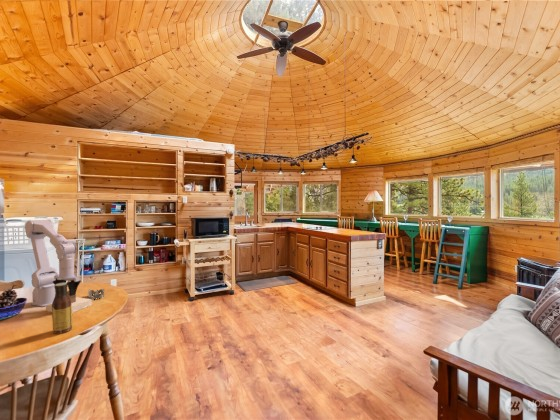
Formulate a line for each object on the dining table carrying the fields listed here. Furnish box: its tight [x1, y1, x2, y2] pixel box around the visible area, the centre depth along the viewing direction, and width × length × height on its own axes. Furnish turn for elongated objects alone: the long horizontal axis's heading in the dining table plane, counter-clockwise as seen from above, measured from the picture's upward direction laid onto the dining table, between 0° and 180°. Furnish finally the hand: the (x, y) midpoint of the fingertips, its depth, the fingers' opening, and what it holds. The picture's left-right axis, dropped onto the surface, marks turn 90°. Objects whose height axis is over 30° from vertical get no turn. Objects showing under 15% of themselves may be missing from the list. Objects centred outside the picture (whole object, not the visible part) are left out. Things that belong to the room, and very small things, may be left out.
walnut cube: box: [67, 290, 77, 303], centre depth 129 cm, size 5×5×5 cm
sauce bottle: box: [51, 282, 73, 335], centre depth 107 cm, size 7×6×20 cm
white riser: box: [45, 296, 93, 314], centre depth 131 cm, size 14×12×3 cm
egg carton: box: [87, 288, 105, 301], centre depth 146 cm, size 11×8×4 cm
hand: (67, 294), depth 129 cm, fingers open, 7 cm apart
